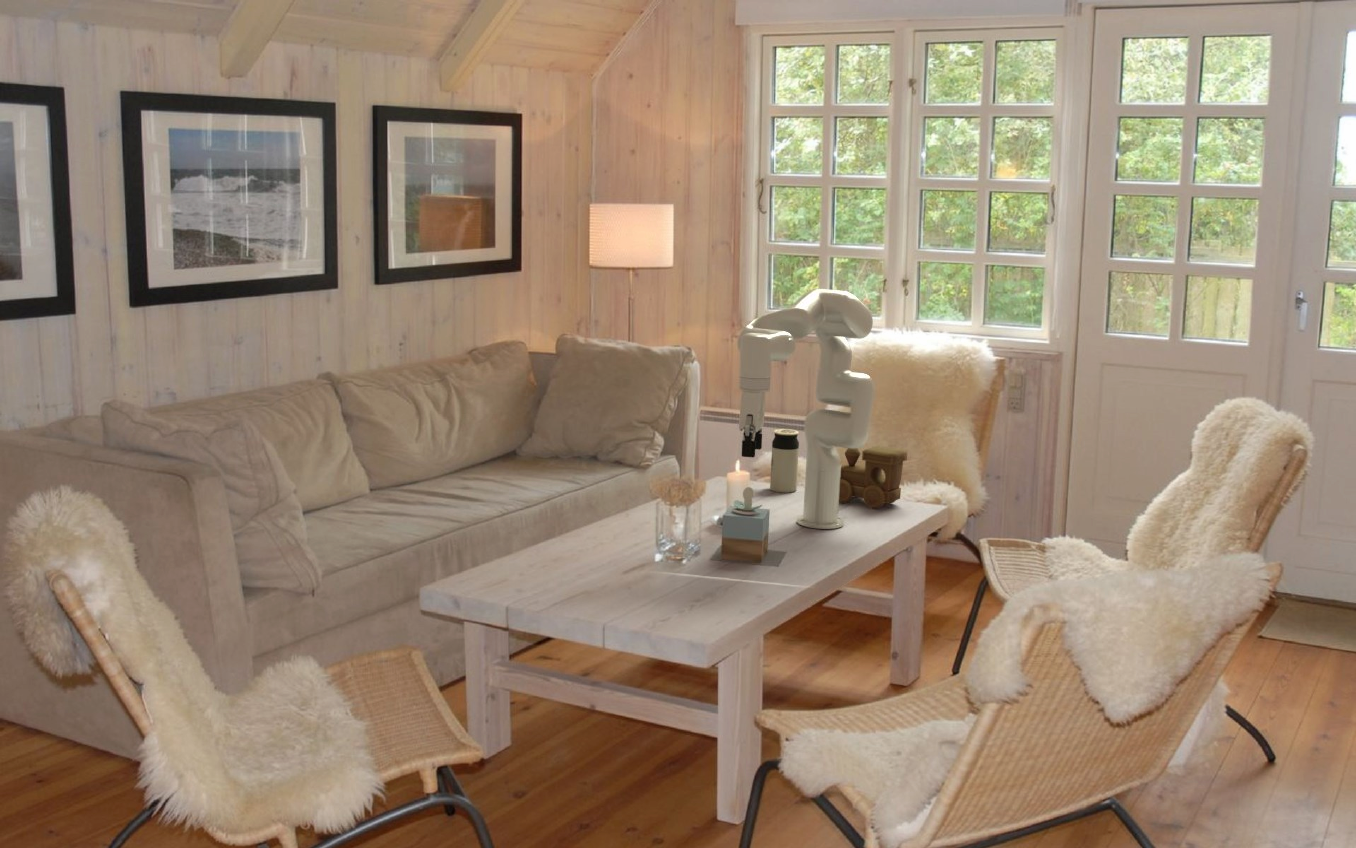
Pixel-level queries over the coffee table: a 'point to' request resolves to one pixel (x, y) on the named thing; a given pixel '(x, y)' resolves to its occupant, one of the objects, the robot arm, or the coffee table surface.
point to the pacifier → (746, 503)
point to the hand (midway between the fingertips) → (751, 452)
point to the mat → (769, 560)
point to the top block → (745, 524)
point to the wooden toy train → (872, 476)
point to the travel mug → (784, 461)
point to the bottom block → (744, 549)
